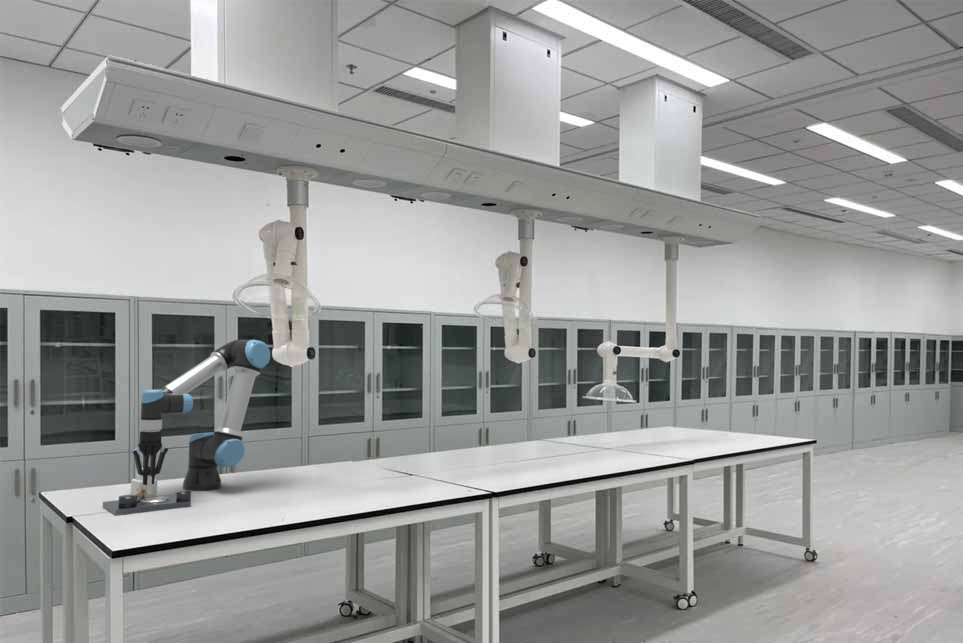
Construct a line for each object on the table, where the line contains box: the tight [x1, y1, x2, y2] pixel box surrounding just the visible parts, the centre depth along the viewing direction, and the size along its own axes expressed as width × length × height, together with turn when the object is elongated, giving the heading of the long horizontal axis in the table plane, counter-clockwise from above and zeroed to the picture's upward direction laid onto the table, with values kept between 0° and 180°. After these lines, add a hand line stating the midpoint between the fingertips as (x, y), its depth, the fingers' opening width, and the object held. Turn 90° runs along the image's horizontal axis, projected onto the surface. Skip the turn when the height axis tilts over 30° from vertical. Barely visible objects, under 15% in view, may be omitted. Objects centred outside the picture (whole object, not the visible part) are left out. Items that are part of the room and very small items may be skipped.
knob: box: [175, 490, 192, 502], centre depth 270 cm, size 8×5×3 cm, turn 42°
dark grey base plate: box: [102, 493, 192, 517], centre depth 266 cm, size 26×16×2 cm, turn 132°
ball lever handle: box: [118, 488, 145, 507], centre depth 263 cm, size 18×6×3 cm, turn 8°
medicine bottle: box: [130, 465, 158, 497], centre depth 281 cm, size 7×7×12 cm
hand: (147, 493), depth 271 cm, fingers closed
